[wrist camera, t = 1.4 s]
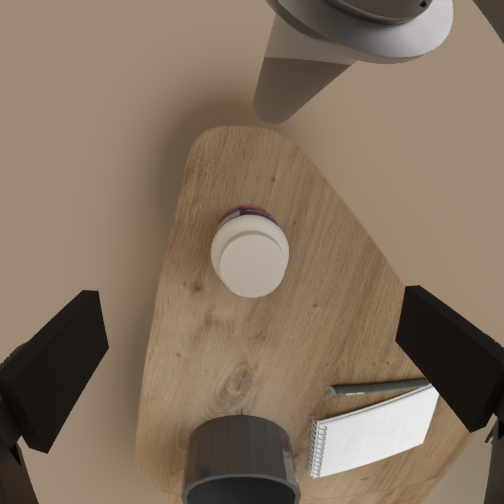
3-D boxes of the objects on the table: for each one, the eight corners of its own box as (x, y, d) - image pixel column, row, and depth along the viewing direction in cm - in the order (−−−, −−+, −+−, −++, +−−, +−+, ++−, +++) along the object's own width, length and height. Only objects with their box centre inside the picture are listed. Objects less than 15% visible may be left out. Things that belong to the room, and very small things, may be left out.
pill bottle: (289, 233, 29) (315, 265, 19) (247, 274, 29) (253, 325, 20) (246, 190, 27) (251, 203, 18) (203, 235, 28) (188, 269, 19)
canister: (182, 414, 34) (172, 471, 25) (294, 412, 34) (307, 469, 26) (194, 473, 37) (190, 522, 28) (286, 472, 38) (294, 521, 29)
